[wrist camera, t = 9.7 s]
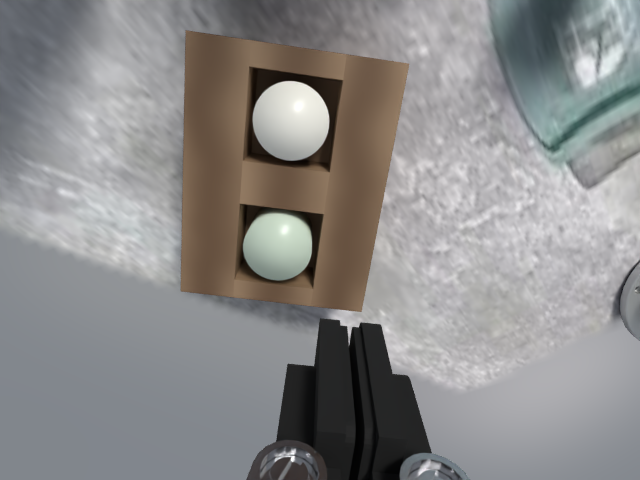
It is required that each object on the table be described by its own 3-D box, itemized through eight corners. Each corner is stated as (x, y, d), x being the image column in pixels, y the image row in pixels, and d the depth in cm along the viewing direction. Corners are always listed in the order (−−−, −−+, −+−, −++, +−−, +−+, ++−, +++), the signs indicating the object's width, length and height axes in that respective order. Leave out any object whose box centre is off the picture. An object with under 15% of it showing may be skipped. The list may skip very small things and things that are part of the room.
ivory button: (332, 87, 30) (334, 86, 26) (322, 156, 31) (323, 165, 27) (263, 77, 29) (255, 75, 25) (257, 147, 31) (249, 155, 27)
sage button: (315, 206, 33) (315, 221, 29) (308, 263, 34) (307, 283, 30) (253, 198, 32) (245, 212, 29) (249, 255, 34) (240, 276, 30)
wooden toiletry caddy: (387, 70, 33) (409, 63, 26) (352, 269, 39) (361, 311, 32) (215, 44, 32) (185, 30, 25) (207, 252, 38) (180, 291, 31)
